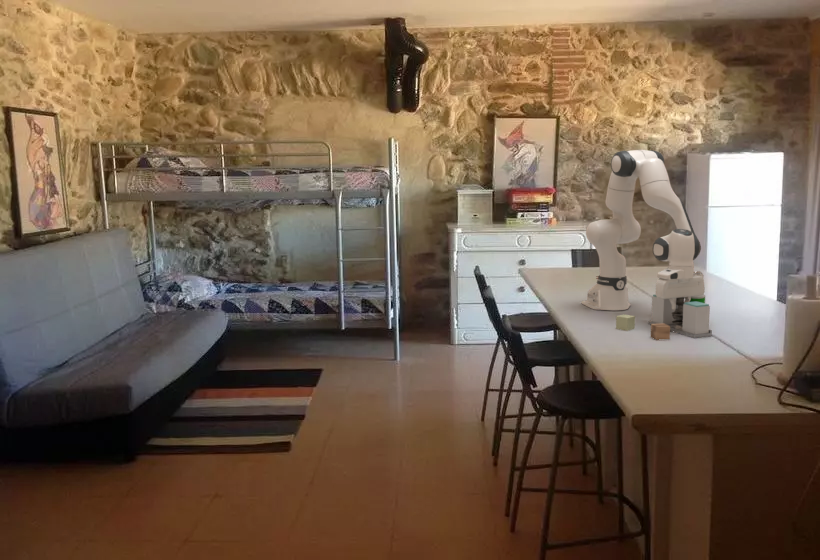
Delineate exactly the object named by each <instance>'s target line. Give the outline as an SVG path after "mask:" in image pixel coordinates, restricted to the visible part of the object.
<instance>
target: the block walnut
mask: <svg viewBox="0 0 820 560" xmlns="http://www.w3.org/2000/svg"><path fill="white" fill-rule="evenodd" d="M670 336H671V331H670V326H668V325H666V324H665V323H661V324H651V325H650V338H652V339H653V338H654V339H653V340H655V339H656V340H655V341H660V340H659V339H671V337H670Z"/></svg>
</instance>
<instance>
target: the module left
mask: <svg viewBox="0 0 820 560" xmlns="http://www.w3.org/2000/svg"><path fill="white" fill-rule="evenodd" d="M675 303H676V301H675ZM674 311H675V310H674V309H672V304H671V302H670V300H669V299H659V298H657V296H656V293H655V294H652V296H651V320H650V321H653V322H656V323H660V324H661V323H665V324H672V321H674V320H675V319H674V318H673V316H672V314H671V313H672V312H674Z"/></svg>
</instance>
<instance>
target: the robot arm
mask: <svg viewBox="0 0 820 560" xmlns="http://www.w3.org/2000/svg"><path fill="white" fill-rule="evenodd" d="M663 155H664V154H662V153H661V152H660V151H658V150H657V151H656V150H647V149H634V150H633V149H632V150H631V149H630V150H621V151H617V152H615V153H614V154H613V156H612V158H611V161H610V169H611V173H610V174H609V175H610V176H609V179H608V184H607V189H606V196H605V206H606V207H607V209H608V210H609V211H611V212H612V218H608V219H599V220H595V221H592V222H590V223H588V225H587V227H586V231H585V236H586V238H587V241H588V242H589V243H590V244H591V245H593V247H594V248H595V250H596V252H597V255H598V260H599V263H598V265H599V275H597V276H595V277H596V278H595V279H596V284H595V285H593V286H592V287H591V288H590V289H589V290H588V291H587V296H586V300H582V301H581V304H582V305H583V306H586V307H588V308H590V309H591V310H599V311H601V310H602V311H625V310H628V309H629V308H630V307H631V303H630V301H629V290H628V289H629V288H628V287H627V283H628V281H627V280H628V279H627V278H628V277H627V274H626V273H627V259H626V256H624V254H621V253H620V252H619V251H618V247H617V245H620V244H629V243H632V242H635V241H637V240H639V238H640V236H641V233H642V228H641V224H640V222H639V221H638V220H637V219H636V218H635V216H634V211H633V201H634V195H635V189H636V183H637V180H638V179H639V184H640V191H641V196H642V199H643V200H644V202H645V203H646V204H647V206H649V207H652V208H653V209H655V210H656V209H657V210H659V211H662V212H664V213H666V214H668V215H669V216H670V217H671V218H672V219H673V223H674V224H675V227H676V228H675V229H673V230H671V232H670V233H669V234H667V235H664V236H661V237H657V238H656V239H655V240H654V241H653V244H652V254H653V256H654V258H655V259H656V260H657V261H660V262H669V263H668V267H666V268H664V269H663V270H661V271H660V270H659V271H658V272H657V278H658V279H656V282H655V283H656V284H655V294H656V296H657V298H659V299H669V300H670V302H671V304H672V309H674V310H675V309H678V305H676V303H675V301H676V298H680V297H684V303H685V302H690V300H691V296H701V295H703V294H704V295H705V280H704V279H705V278H704V273H703V272H701V271H700V270H697V271H695V263H694V262H695V260H696V259H697V258H698V257H699V255H700V253H701V250H702V246H701V242H700V240H699V238H698V237H697V235H696V233H695V231H694V229H693V225H692V223H691V220H690V218H689V214H688V211H687V209H686V207H685V205H684V203H683V200H682V199H681V198H680V197H679V196H677V195H676V193H675V192H674V190H673V188H672V185H671V182H670V177H669V173H668V171H667V168H666V166H665V157H664V156H663Z"/></svg>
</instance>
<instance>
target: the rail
mask: <svg viewBox="0 0 820 560" xmlns="http://www.w3.org/2000/svg"><path fill="white" fill-rule="evenodd" d="M647 324H648V325H650V324H660V323H656V322H653V321H651V320H648V323H647ZM666 325H668V326H670V332H673V331H674V332H673V333H676V332H677V333H676V334H679V333H680V335H682V334H683V335H682V336H685V337H689V338H692V337H693V338H692V339H697V338H698V337H699V338H708V337H712V336H713V330H712V329H710V328H709V333H703V334H693V333H689V332H686V331H683V330H682V327H683V324H674V323H672V324H666Z"/></svg>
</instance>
